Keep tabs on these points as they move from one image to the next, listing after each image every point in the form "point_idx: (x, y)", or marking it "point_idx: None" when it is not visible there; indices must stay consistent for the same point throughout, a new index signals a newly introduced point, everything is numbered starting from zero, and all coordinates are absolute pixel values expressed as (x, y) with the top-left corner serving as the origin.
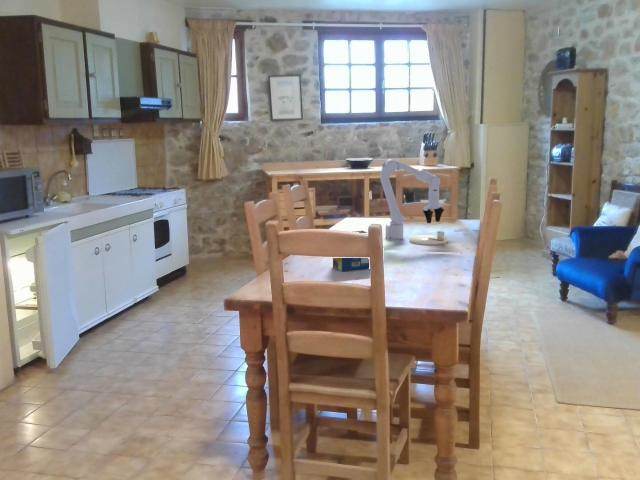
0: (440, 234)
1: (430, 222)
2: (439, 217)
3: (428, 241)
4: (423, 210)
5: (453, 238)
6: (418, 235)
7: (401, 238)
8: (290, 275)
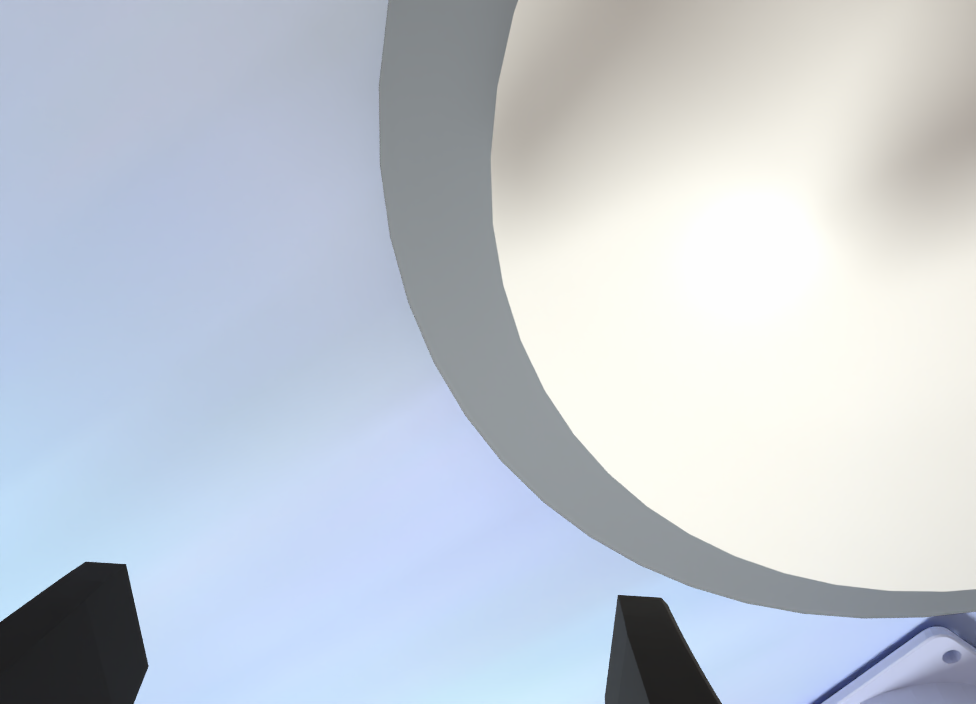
0: None
1: (661, 614)
2: (7, 682)
3: None
4: None
5: (10, 70)
6: (761, 557)
7: (970, 701)
8: None
